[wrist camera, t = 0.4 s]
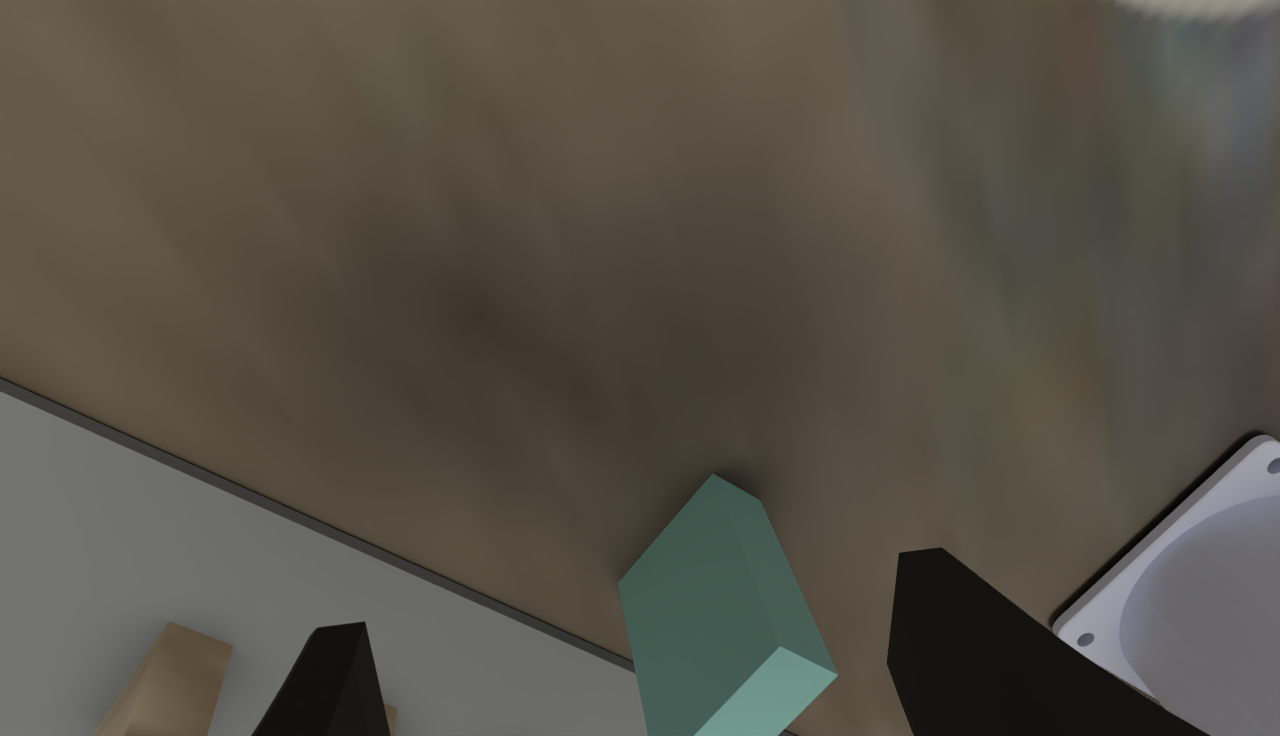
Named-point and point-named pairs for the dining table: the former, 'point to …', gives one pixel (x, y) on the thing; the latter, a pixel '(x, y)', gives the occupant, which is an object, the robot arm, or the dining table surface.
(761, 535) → the tile
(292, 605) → the board and tray
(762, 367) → the dining table surface
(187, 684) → the tile
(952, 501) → the dining table surface
